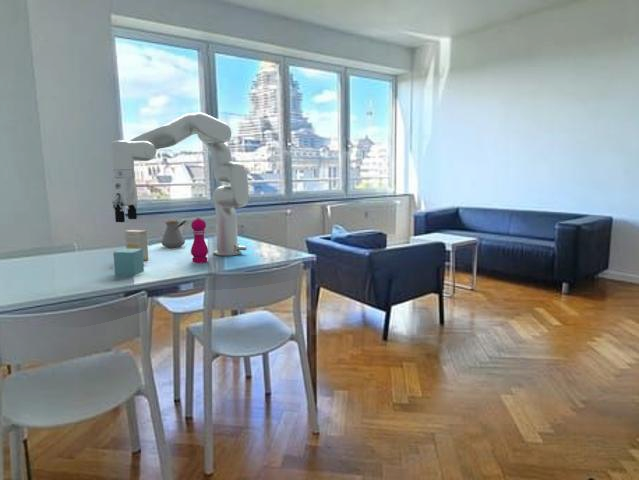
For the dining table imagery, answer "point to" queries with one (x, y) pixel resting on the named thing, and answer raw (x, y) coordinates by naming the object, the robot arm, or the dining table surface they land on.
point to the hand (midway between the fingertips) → (126, 220)
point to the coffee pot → (173, 235)
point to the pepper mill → (199, 241)
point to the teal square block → (128, 262)
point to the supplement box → (137, 241)
